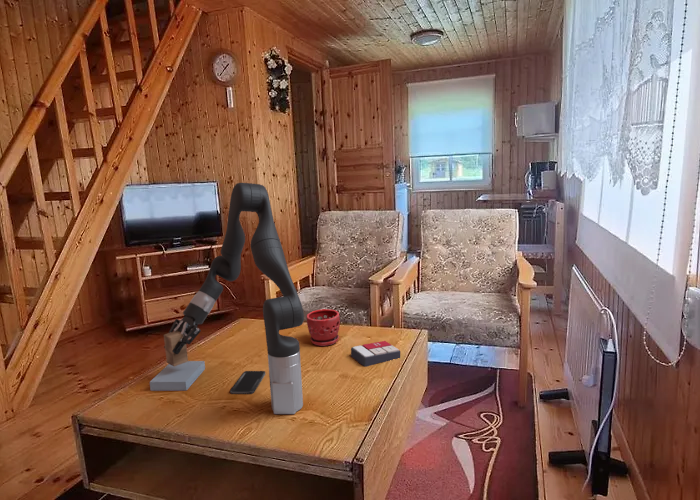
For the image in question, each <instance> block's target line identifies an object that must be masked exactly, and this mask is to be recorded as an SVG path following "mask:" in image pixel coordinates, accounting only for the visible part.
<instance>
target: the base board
mask: <svg viewBox="0 0 700 500" xmlns="http://www.w3.org/2000/svg"><path fill="white" fill-rule="evenodd" d="M205 369H206V365H205V360H188V362H185V363H183V364H180V365H177V366H172V365H170V364H168V363H167V365H166V366H165V367H164V368H163V369H162V370H161V371H160V372H158V373H157V374H156V375H155V376H154V377H153V378H152V379H151V380H150V381H149V387H150V391H154V392H155V391H158V392H159V391H160V392H161V391H166V392H167V391H169V392H170V391H178V392H179V391H188V389H190V387H191V386H192V385H193V384H194V383H195V381H196V380H197V379H198V378H199V377H200V375H202V373H203V372H204V371H205Z"/></svg>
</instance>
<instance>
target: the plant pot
mask: <svg viewBox="0 0 700 500" xmlns="http://www.w3.org/2000/svg"><path fill="white" fill-rule="evenodd" d="M325 316H326V317H325ZM319 317H321V318H322V319H319ZM340 317H341V316H340V312H339V311H338V310H335V309H330V308H328V309H327V308H325V309H324V308H323V309H322V308H321V309H316V310H313V311H311V312H309V313H307V314H306V325H307V329H308V332H309V335H310V336H311V337H310V342H311V343H312V344H314V345H315V346H320V347H325V346H327V347H328V346H332V345H334V344H336V343H337V342H338V341H339V339H340V336H339V330H340V324H341V320H340Z"/></svg>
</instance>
